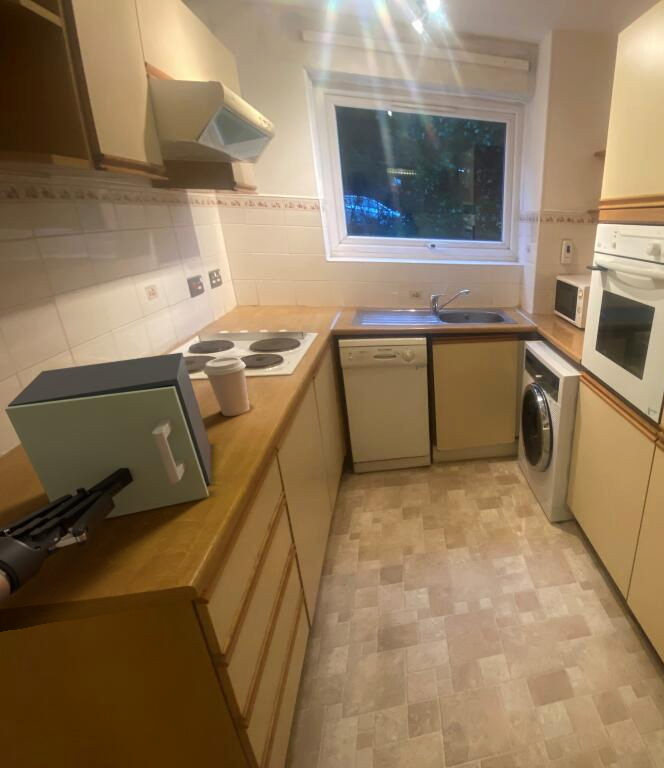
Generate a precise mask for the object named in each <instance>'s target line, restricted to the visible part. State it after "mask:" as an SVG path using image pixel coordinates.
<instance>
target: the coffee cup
mask: <svg viewBox="0 0 664 768" xmlns="http://www.w3.org/2000/svg"><path fill="white" fill-rule="evenodd" d="M246 366H247V365H246V363H245V362H244V361H243V360H242V359H241V358H240V357H238V356H223V357H218V358H214V359H211V360H209V361H206V363H205V366H204V368H203V373H204V375H206V376H207V379H208V381H209V383H210V386H211V388H212V391H213V393H214V396H215V399H216V401H217V403H218V405H219V408H220V411H221V414H222V415H223V416H225V417H235V416H239V415H242V414H245V413H247V412H248V411H250V409H251V407H250V400H249V394H248V387H247V386H248V385H247V380H246V373H245V368H246Z"/></svg>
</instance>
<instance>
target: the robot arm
mask: <svg viewBox="0 0 664 768" xmlns="http://www.w3.org/2000/svg"><path fill="white" fill-rule="evenodd" d="M132 481H133V478H132V476H131V473H130V471H129V468H120V469H118V470H117V471H115V472H114V473H112V474H111V475H109V476H108V477H107V478H105V479H104V480H102V481H101V482H99V483H98V484H96V485H94V486H93V487H92V488H90V489H89V490H87V491H86V490H85V488H79V489H77V490H76V491H77V493H78V494H76V495H75V496H72V495H71V494H67V495H65V496H62V497H61V498H59V499H57V500H55V501H53V502H49V503H47V504H45V505H44V506H42V507H40V508H38V509H36V510H35V511H32V512H30V513H29V514H27V515H25V516H23V517H21V518H19V519H18V520H15V521H13V522H11V523H10V524H7V525H5V526H2V527H0V605H1V604H2V603H4V602H5V601H6V600H7V599H8V598H9V596H12V595H13V594H15V593H16V592H17V591H19V590H20V589H21V588H23V587H24V586H25V585H26V584H28V583H29V582H30V581H32V580H33V579H34V578H35V577H36V576H37V575H39V573H40V572H41V569H42V567H43V564H44V563H45V561H46V560H47V559H48V558H50V557H52V556H54V555H55V554H57V553H59V552H60V551H61V550H62V549H63V547H66V546H69V545H73V544H76V545H77V547H83V546H85V545H87V544H88V543H89V541H90V537H91V535H92V534H93V533H94V531H96V529H98V527H99V526H100V525H101V524H102V523H103V521H104V520H106V519H107V518H106V517H107V516H108V515H109V513H110V512H111V511H112V510H113V509H114V508H115V503H114V501H113V499H112V497H114V496H115V495H116V494H118V493H119V492H120V491H122V489H123V488H125V487H126V486H127V485H128V484H130V483H131V482H132ZM105 518H106V519H105Z"/></svg>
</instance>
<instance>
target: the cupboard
mask: <svg viewBox="0 0 664 768" xmlns="http://www.w3.org/2000/svg"><path fill="white" fill-rule="evenodd" d="M187 366H188V365H187V363H186V360H185V357H184V353H183V352H175V353H168V354H160V355H159V354H158V355H153V356H144V357H137V358H131V359H130V358H129V359H123V360H115V361H107V362H101V363H93V364H85V365H79V366H78V365H77V366H70V367H65V368H55V369H49V370H48V369H47V370H42V371H41V372H40V373H39V374H38V375H36V377H34V379H32V381H31V382H30V383H29V384H28V385H27V386H25V388H24V389H23V390H22V391H20V392H19V394H18V395H17V396H16V397H15V398H14V399H13V400H11V402H10V403H9V404H8V405H7V407H11V406H19V405H27V404H35V403H43V402H51V401H59V400H67V399H76V398H84V397H92V396H100V395H108V394H116V393H124V392H132V391H140V390H148V389H156V388H164V387H172V386H175V389H176V392H177V395H178V398H179V401H180V404H181V408H182V411H183V414H184V417H185V420H186V423H187V427H188V430H189V433H190V436H191V439H192V442H193V445H194V449H195V452H196V455H197V458H198V461H199V464H200V468H201V471H202V474H203V477H204V480H205V483H206V487H207V486H210V485H211V444H210V440H209V437H208V433H207V431H206V430H207V429H206V427H205V424H204V420H203V417H202V416H203V415H202V413H201V410H200V406H199V403H198V400H197V397H196V393H195V390H194V387H193V384H192V380H191V376H190V374H189V370H188V367H187Z"/></svg>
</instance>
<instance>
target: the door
mask: <svg viewBox="0 0 664 768" xmlns="http://www.w3.org/2000/svg"><path fill="white" fill-rule="evenodd" d="M4 411H5V413H6V415H7V418H8V419H9V421H10V423H11V425H12V427H13V429H14V431H15V433H16V435H17V437H18V439H19V442H20V444H21V445H22V448H23V450H24V452H25V453H26V456H27V458H28V460H29V461H30V465H32V468H33V470H34V472H35V474H36V475H37V478H38V480H39V482H40V484H41V486H42V488H43V490H44V492H45V495H46V496H47V498H48V501H49V503H51V502H53V501H55V500H57V499H59V498H61V497H62V496H65V495H67V494H71V495H72V496H75V495H76V494H78V493H77V491H76V490H77V489H79V488H85V490H86V491H87V490H89V489H90V488H92V487H93V486H94V485H96V484H98V483H99V482H101V481H102V480H104V479H105V478H107V477H108V476H109V475H111V474H112V473H114V472H115V471H117V470H118V469H120V468H129V471H130V473H131V476H132V478H133V481H132V482H131V483H130V484H128V485H127V486H126V487H125V488H123V489H122V491H120V492H119V493H118V494H116V495H115V496H114V497H112V499H113V501H114V503H115V508H114V509H113V510H112V511H111V512H110V513H109V515H108V516H107V517H106V518H105V519H104V520H106V519H111V518H116V517H120V516H124V515H130V514H133V513H134V514H135V513H139V512H145V511H149V510H153V509H158V508H163V507H168V506H172V505H177V504H183V503H187V502H192V501H197V500H201V499H206V498H209V496H210V493H209V490H208V487H207V486H206V483H205V480H204V477H203V474H202V471H201V468H200V464H199V461H198V458H197V455H196V452H195V449H194V445H193V442H192V439H191V436H190V433H189V430H188V427H187V423H186V420H185V417H184V414H183V411H182V408H181V404H180V401H179V398H178V395H177V392H176V389H175V386H172V387H164V388H156V389H148V390H140V391H132V392H124V393H116V394H108V395H100V396H92V397H84V398H76V399H67V400H59V401H51V402H43V403H35V404H27V405H19V406H11V407H8V406H7V407H5V408H4Z"/></svg>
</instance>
